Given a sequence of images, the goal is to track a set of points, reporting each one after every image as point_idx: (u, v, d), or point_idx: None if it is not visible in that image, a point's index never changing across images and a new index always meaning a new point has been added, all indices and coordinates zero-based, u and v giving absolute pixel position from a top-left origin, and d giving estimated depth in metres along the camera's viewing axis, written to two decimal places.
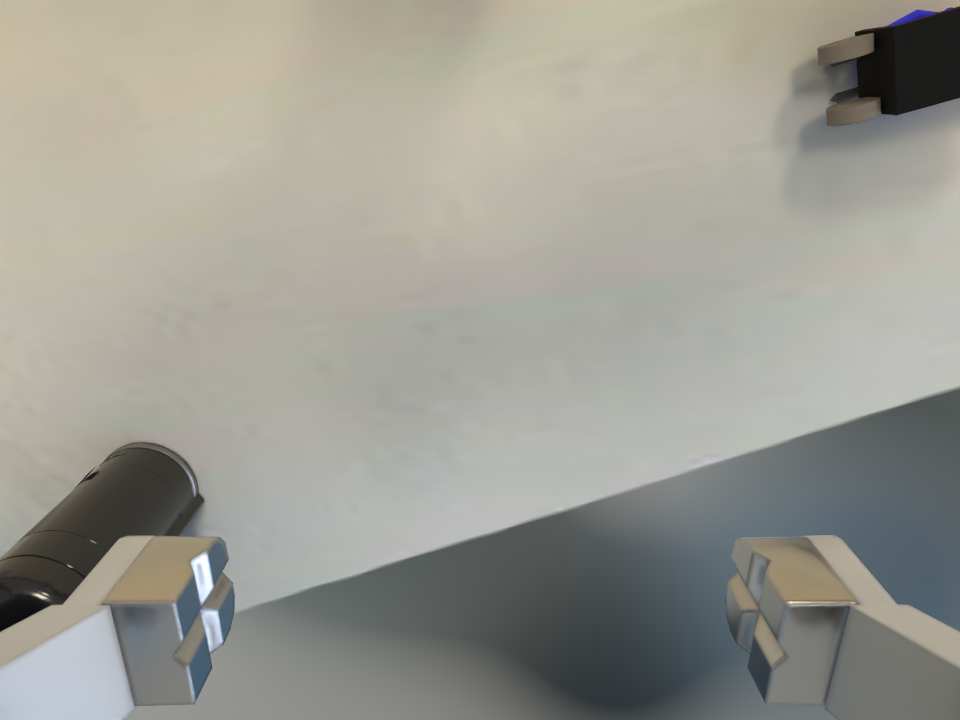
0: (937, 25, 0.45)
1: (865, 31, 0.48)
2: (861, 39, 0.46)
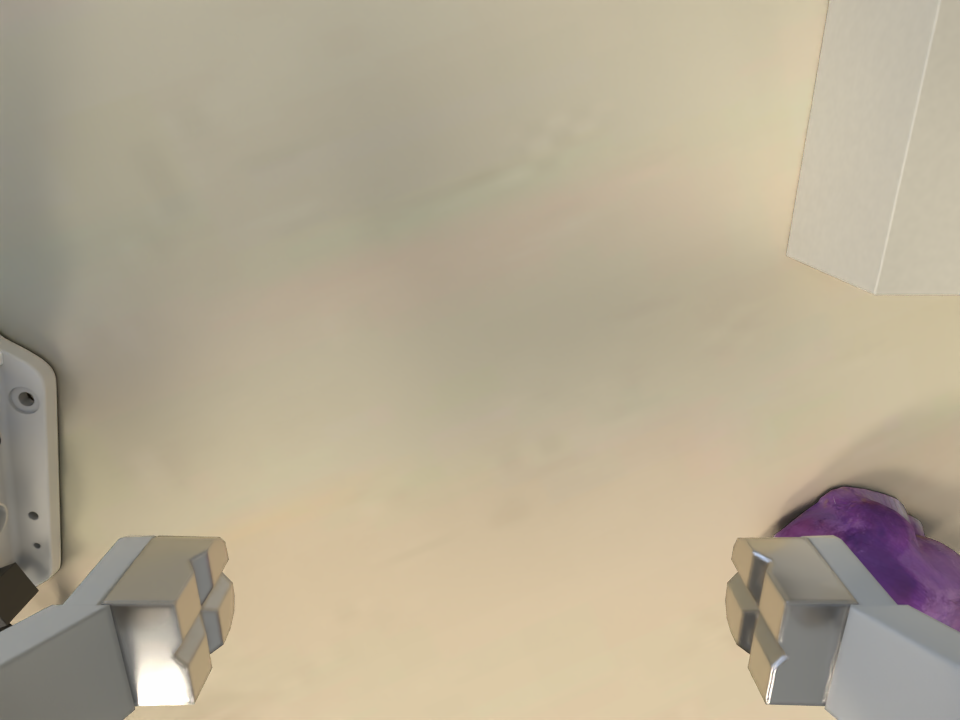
0: None
1: None
2: None
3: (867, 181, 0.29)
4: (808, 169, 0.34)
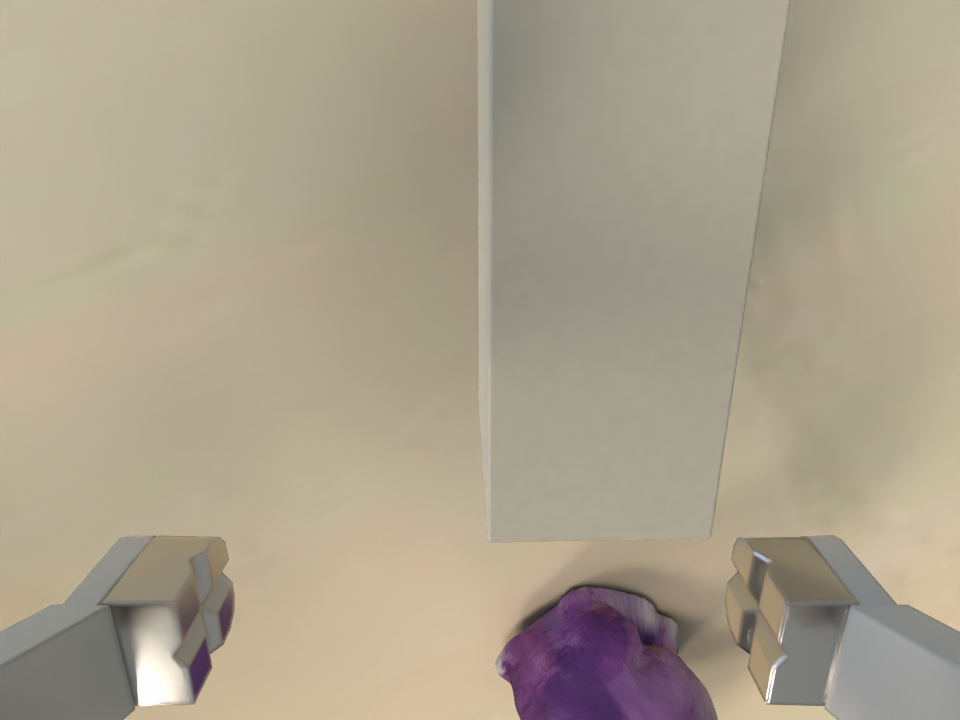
0: None
1: None
2: None
3: (484, 341, 0.17)
4: None
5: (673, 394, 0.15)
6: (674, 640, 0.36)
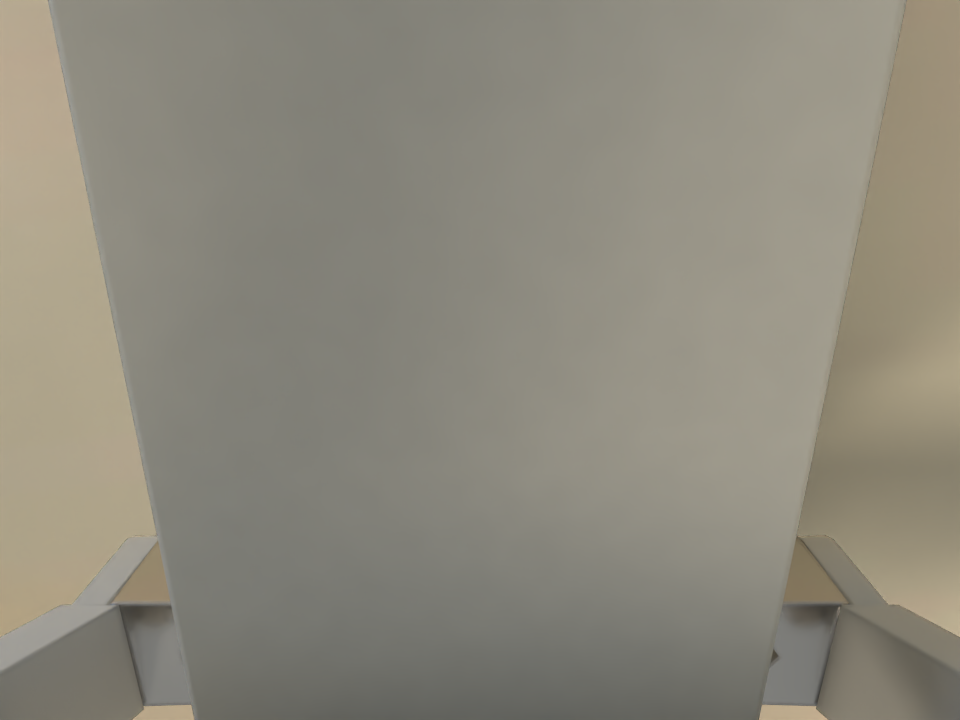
0: None
1: None
2: None
3: None
4: None
5: None
6: None
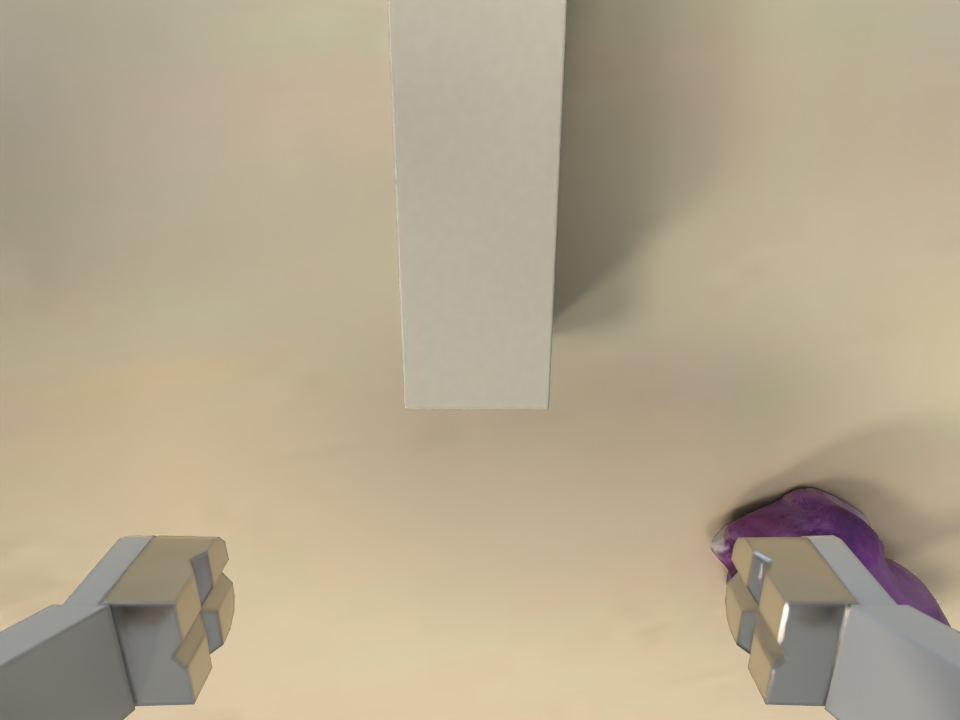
0: None
1: None
2: None
3: None
4: None
5: (515, 311, 0.24)
6: None
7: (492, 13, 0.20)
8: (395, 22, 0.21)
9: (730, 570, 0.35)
